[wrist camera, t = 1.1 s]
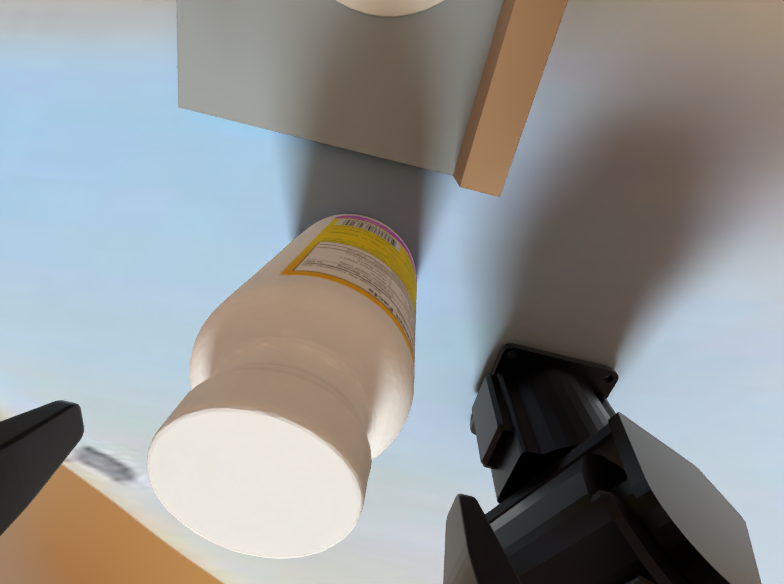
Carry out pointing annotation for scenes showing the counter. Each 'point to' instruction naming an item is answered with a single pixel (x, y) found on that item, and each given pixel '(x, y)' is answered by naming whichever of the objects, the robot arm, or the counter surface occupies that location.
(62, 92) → the counter surface
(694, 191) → the counter surface
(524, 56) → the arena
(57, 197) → the counter surface
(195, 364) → the supplement bottle
